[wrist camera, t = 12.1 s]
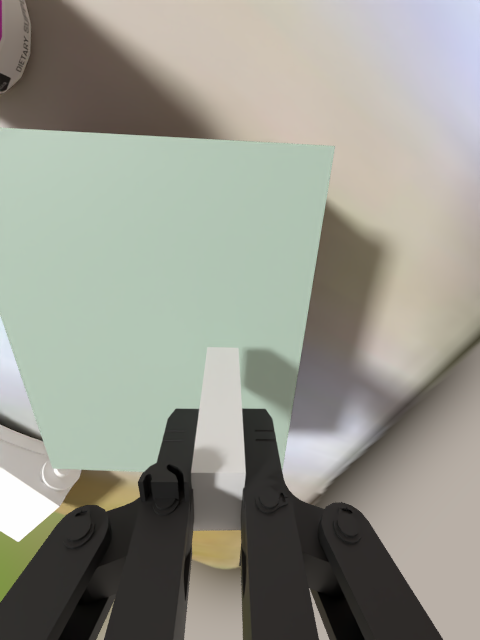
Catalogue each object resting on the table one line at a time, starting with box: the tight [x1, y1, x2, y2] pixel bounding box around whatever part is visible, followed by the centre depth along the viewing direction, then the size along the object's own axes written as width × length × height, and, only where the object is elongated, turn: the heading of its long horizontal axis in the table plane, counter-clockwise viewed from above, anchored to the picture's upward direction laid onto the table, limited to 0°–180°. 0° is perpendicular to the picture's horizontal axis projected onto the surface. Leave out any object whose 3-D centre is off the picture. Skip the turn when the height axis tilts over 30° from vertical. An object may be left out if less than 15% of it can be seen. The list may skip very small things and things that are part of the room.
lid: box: [0, 128, 335, 472], centre depth 17 cm, size 21×16×1 cm
